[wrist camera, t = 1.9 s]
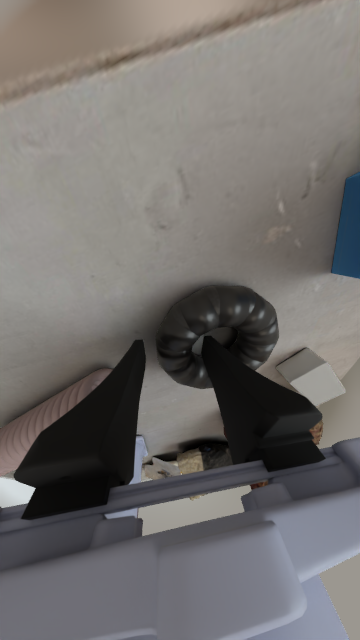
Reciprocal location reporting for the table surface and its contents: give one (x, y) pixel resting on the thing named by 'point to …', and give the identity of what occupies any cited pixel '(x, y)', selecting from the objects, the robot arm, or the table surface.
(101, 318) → the table surface
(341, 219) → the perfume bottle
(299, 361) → the multiport hub
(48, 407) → the coil
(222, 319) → the ribbed ring
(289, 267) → the table surface
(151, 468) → the diorama
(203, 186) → the table surface
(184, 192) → the table surface
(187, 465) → the mineral specimen
